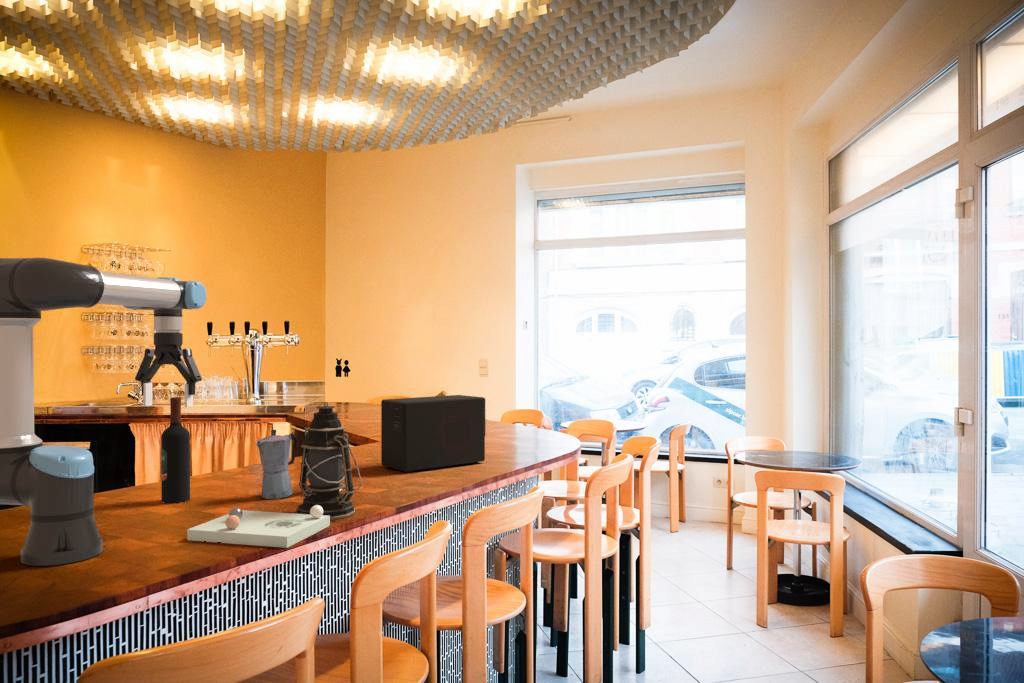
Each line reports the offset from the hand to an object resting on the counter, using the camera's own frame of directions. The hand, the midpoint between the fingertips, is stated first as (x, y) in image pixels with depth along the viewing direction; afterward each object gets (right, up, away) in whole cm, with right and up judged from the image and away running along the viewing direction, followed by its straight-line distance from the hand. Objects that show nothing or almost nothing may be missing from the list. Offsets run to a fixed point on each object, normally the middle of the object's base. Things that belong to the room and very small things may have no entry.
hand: (168, 406), depth 208 cm
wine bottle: (+1, -28, +3) cm, 28 cm away
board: (+37, -28, -32) cm, 56 cm away
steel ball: (+31, -24, -30) cm, 49 cm away
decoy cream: (+50, -24, -27) cm, 62 cm away
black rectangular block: (+69, -28, +64) cm, 98 cm away
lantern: (+48, -28, -13) cm, 57 cm away
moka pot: (+28, -28, +10) cm, 41 cm away
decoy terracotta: (+33, -24, -38) cm, 55 cm away
